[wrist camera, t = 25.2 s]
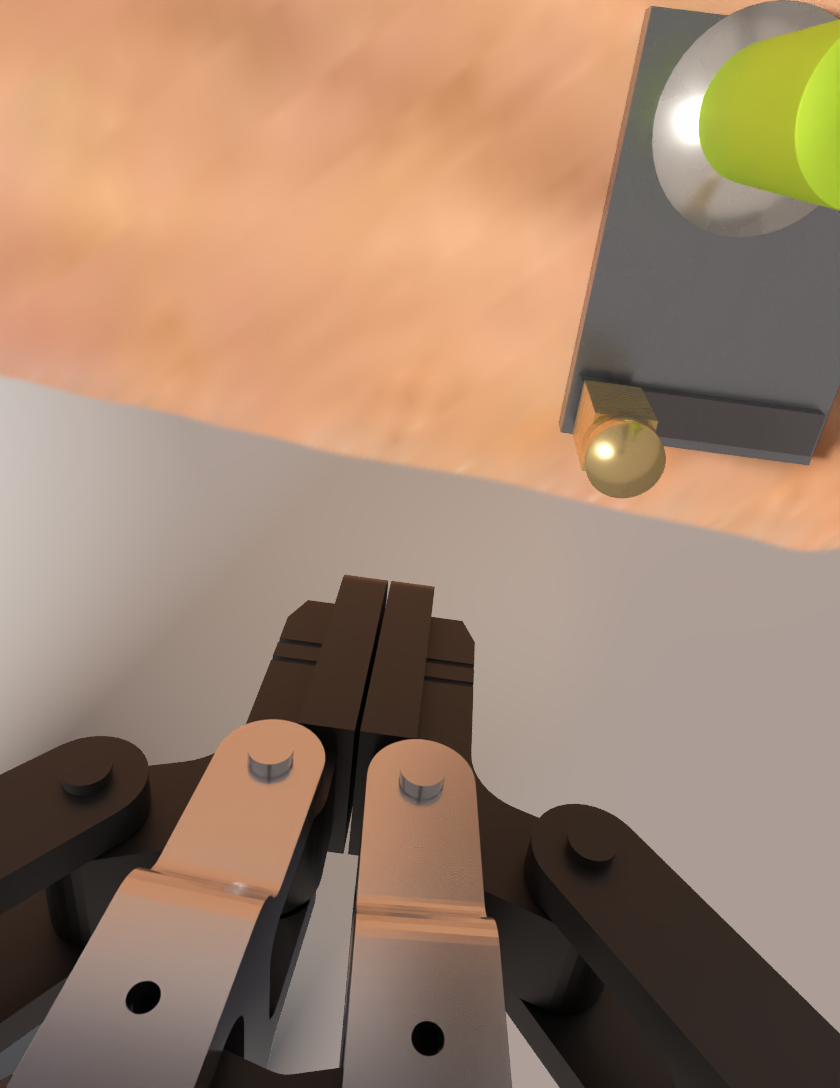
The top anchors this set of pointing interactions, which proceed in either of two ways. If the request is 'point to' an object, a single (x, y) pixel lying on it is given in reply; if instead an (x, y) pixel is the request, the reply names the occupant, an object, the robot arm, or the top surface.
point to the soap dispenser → (779, 116)
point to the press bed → (709, 264)
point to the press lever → (618, 439)
